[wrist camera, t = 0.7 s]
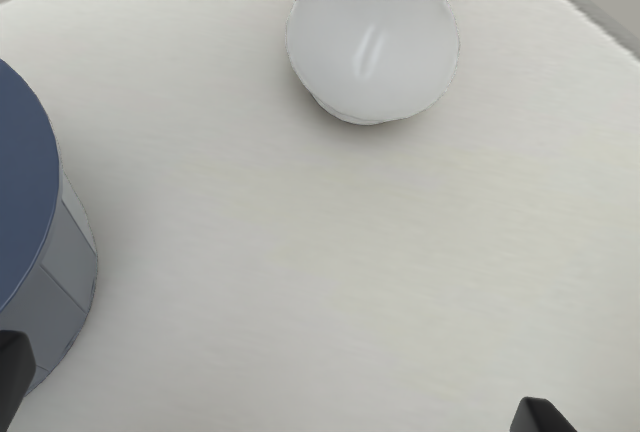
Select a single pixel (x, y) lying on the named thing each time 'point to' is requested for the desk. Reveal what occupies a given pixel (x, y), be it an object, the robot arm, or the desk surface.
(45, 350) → the pot
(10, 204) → the pot lid
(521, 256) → the desk surface
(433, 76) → the flower vase
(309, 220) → the desk surface
